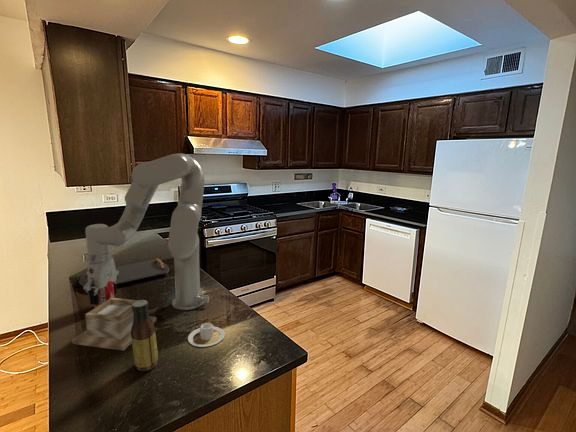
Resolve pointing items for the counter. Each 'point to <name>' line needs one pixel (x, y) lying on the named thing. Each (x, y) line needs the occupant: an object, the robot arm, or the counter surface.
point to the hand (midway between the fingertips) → (104, 298)
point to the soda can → (105, 293)
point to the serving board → (135, 271)
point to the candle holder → (206, 334)
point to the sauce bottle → (143, 337)
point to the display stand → (109, 325)
